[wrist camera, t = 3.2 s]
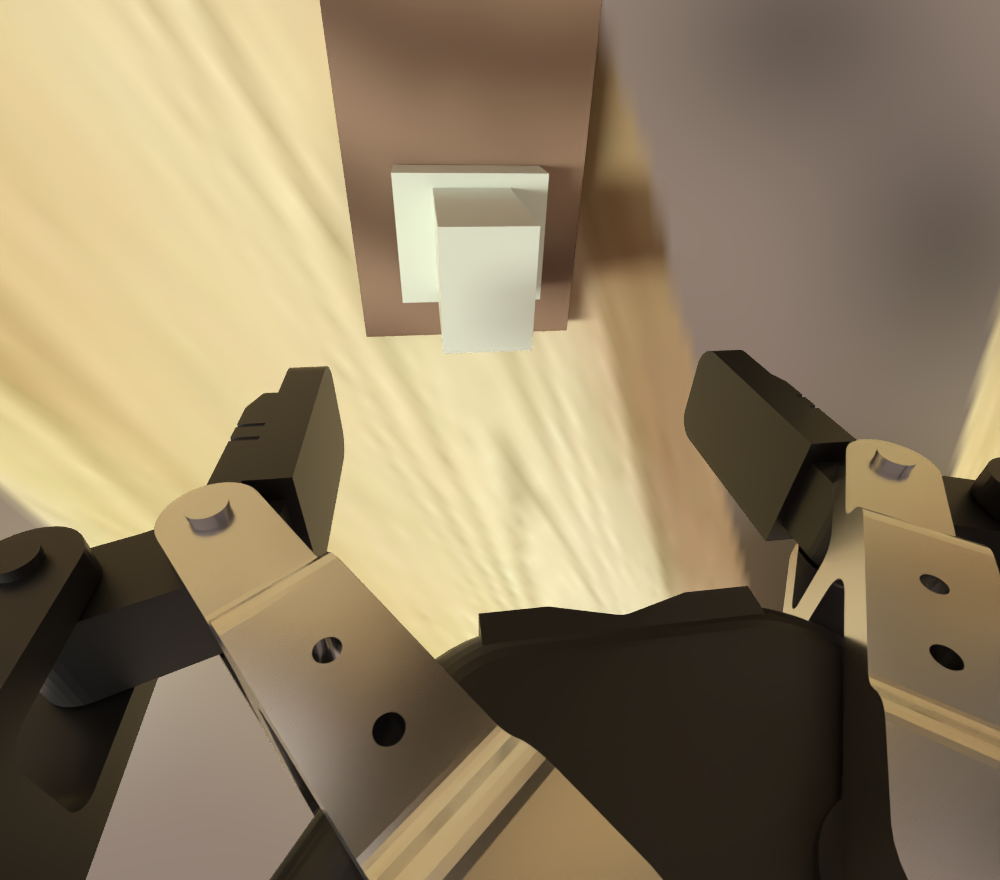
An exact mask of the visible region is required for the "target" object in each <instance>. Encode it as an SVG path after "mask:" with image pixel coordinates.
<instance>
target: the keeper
mask: <svg viewBox="0 0 1000 880" xmlns="http://www.w3.org/2000/svg"><path fill="white" fill-rule="evenodd" d="M391 179H392V190H393V201H394V212H395V223H396V233H397V244H398V255H399V266H400V277H401V288H402V299H403V303H418V302H438V303H439V313H440V324H441V334H442V345H443V354H451V353H478V352H505V351H531V350H532V342H533V327H534V313H535V300H538V299H540V291H541V278H542V264H543V250H544V236H545V222H546V209H547V195H548V181H549V173H548V172H546V171H545V170H544V169H543V168H541V167H540V166H513V165H393V167H392V171H391Z"/></svg>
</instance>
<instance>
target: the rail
mask: <svg viewBox="0 0 1000 880" xmlns="http://www.w3.org/2000/svg"><path fill="white" fill-rule="evenodd" d="M320 6H321V13H322V20H323V27H324V35H325V42H326V49H327V56H328V63H329V70H330V77H331V85H332V92H333V99H334V106H335V113H336V120H337V128H338V135H339V142H340V149H341V156H342V163H343V170H344V178H345V185H346V192H347V199H348V206H349V213H350V220H351V228H352V235H353V242H354V249H355V256H356V263H357V271H358V278H359V285H360V292H361V299H362V306H363V313H364V321H365V328H366V335H367V337H376V336H407V335H437V334H441V324H440V313H439V303H438V302H418V303H403V299H402V288H401V277H400V266H399V255H398V244H397V233H396V223H395V212H394V201H393V190H392V179H391V171H392V167H393V165H513V166H540V167H541V168H543V169H544V170H545V171H546V172H548V173H549V181H548V195H547V209H546V222H545V236H544V250H543V264H542V278H541V291H540V299H538V300H535V313H534V327H533V331H560V330H567V321H568V311H569V302H570V293H571V284H572V274H573V265H574V256H575V247H576V237H577V228H578V219H579V210H580V200H581V191H582V182H583V173H584V163H585V154H586V145H587V136H588V126H589V117H590V108H591V99H592V89H593V80H594V71H595V62H596V52H597V43H598V34H599V25H600V15H601V6H602V0H320Z"/></svg>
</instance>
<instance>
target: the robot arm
mask: <svg viewBox="0 0 1000 880" xmlns="http://www.w3.org/2000/svg"><path fill="white" fill-rule="evenodd" d="M237 425H238V427H236V428H235V430H234V432H233V434H232V436H231V441H229V442H228V444H227V446H226V448H225V450H224V452H223V454H222V456H221V458H220V460H219V462H218V464H217V466H216V468H215V470H214V472H213V474H212V476H211V477H210V479H209V481H208V483H207V485H206V486H203V487H200V488H197V489H195V490H192V491H190V492H188V493H186V494H184V495H182V496H181V497H179V498H177V499H176V500H174V501H173V502H172V503H170V504H169V505H168V506H167V507H166V508H165V509H164V510H163V511H162V513H161V514H160V515H159V517H158V519H157V521H156V523H155V527H154V530H151V531H148V532H145V533H142V534H139V535H135V536H132V537H128V538H125V539H121V540H117V541H114V542H110V543H107V544H103V545H100V546H96V547H93V548H90V547H89V545H88V544H87V542H86V541H85V539H84V538H83V536H82V535H81V534H80V533H79V532H78V531H76V530H74V529H72V528H67V527H58V526H54V527H43V528H37V529H33V530H29V531H25V532H22V533H19V534H16V535H13V536H11V537H8V538H6V539H3V540H1V541H0V880H86V877H87V874H88V872H89V869H90V866H91V863H92V860H93V858H94V855H95V852H96V849H97V846H98V843H99V841H100V838H101V835H102V833H103V830H104V827H105V824H106V821H107V818H108V816H109V813H110V810H111V807H112V804H113V802H114V799H115V796H116V793H117V791H118V788H119V785H120V782H121V779H122V777H123V774H124V771H125V768H126V766H127V763H128V760H129V757H130V754H131V751H132V749H133V746H134V743H135V740H136V737H137V735H138V732H139V729H140V726H141V723H142V721H143V717H144V715H145V712H146V710H147V707H148V704H149V701H150V698H151V696H152V693H153V690H154V687H155V684H156V682H157V679H158V678H159V677H161V676H164V675H166V674H169V673H172V672H174V671H177V670H180V669H182V668H185V667H187V666H190V665H193V664H195V663H198V662H200V661H203V660H206V659H208V658H211V657H214V656H216V655H219V657H220V658H221V660H222V662H223V663H224V665H225V667H226V668H227V670H228V672H229V673H230V675H231V677H232V678H233V680H234V682H235V683H236V685H237V687H238V689H239V690H240V692H241V694H242V695H243V697H244V699H245V700H246V702H247V704H248V706H249V707H250V709H251V710H252V712H253V714H254V716H255V717H256V719H257V721H258V722H259V724H260V726H261V727H262V729H263V731H264V733H265V734H266V736H267V737H268V739H269V741H270V743H271V745H272V746H273V748H274V750H275V752H276V753H277V755H278V757H279V759H280V761H281V762H282V764H283V766H284V768H285V770H286V771H287V773H288V775H289V777H290V778H291V780H292V782H293V784H294V785H295V787H296V788H297V790H298V792H299V794H300V795H301V797H302V799H303V801H304V802H305V804H306V806H307V807H308V809H309V811H310V812H311V814H312V816H313V817H314V818H313V819H312V821H311V822H310V823H309V825H308V826H307V828H306V829H305V830H304V832H303V833H302V835H301V836H300V838H299V839H298V841H297V842H296V843H295V845H294V846H293V848H292V849H291V850H290V852H289V853H288V855H287V856H286V857H285V859H284V860H283V862H282V863H281V864H280V866H279V867H278V869H277V870H276V872H275V873H274V874H273V876H272V877H271V879H270V880H1000V457H999V458H995V459H992V460H991V461H990V462H989V463H988V464H987V466H986V467H985V468H984V470H983V471H982V472H981V474H980V475H979V476H978V478H977V479H976V480H970V479H962V478H955V477H947V476H941V473H940V471H939V470H938V469H937V467H936V466H935V465H934V464H933V463H931V462H930V461H929V460H928V459H926V458H925V457H923V456H922V455H920V454H918V453H916V452H914V451H912V450H910V449H908V448H905V447H903V446H900V445H897V444H893V443H890V442H885V441H881V440H873V439H862V440H856V439H855V438H853V437H852V436H851V435H850V434H849V433H848V432H846V431H845V430H844V429H843V428H842V427H841V426H839V425H838V424H837V423H836V422H834V421H833V420H832V419H831V418H830V417H828V416H827V415H826V414H825V413H824V412H822V411H821V410H820V409H819V408H815V405H814V404H813V403H812V402H810V401H809V400H808V399H807V398H806V397H802V394H800V392H798V391H797V390H796V389H795V388H794V387H792V386H791V385H790V384H789V383H787V382H786V381H784V380H782V379H780V378H778V377H776V376H774V375H772V374H770V373H769V372H768V371H767V370H766V369H765V368H763V367H762V366H761V365H760V364H759V363H757V362H756V361H755V360H754V359H753V358H751V357H750V356H749V355H748V354H747V353H746V352H744V351H742V350H725V351H707V352H705V353H704V354H703V355H702V356H701V358H700V360H699V363H698V366H697V370H696V373H695V377H694V381H693V384H692V388H691V391H690V395H689V399H688V402H687V406H686V409H685V414H684V426H685V431H686V434H687V436H688V438H689V440H690V441H691V442H692V444H693V445H694V446H695V448H696V449H697V450H698V452H699V453H700V454H701V456H702V457H703V458H704V460H705V461H706V462H707V464H708V465H709V466H710V468H711V469H712V470H713V472H714V473H715V474H716V476H717V477H718V478H719V480H720V481H721V482H722V484H723V485H724V486H725V488H726V489H727V490H728V492H729V493H730V494H731V496H732V497H733V498H734V500H735V501H736V502H737V503H738V505H739V506H740V508H741V509H742V510H743V512H744V513H745V514H746V516H747V517H748V518H749V520H750V521H751V522H752V524H753V525H754V526H755V528H756V529H757V530H758V531H759V533H760V534H761V535H762V537H763V538H764V539H765V541H773V540H784V539H794V540H795V541H796V542H797V543H796V546H795V547H794V549H793V551H792V553H791V556H790V562H789V570H788V577H787V585H786V593H785V601H784V609H783V612H780V611H775V610H771V609H766V608H762V607H761V606H760V604H759V603H758V602H757V600H756V598H755V597H754V595H753V593H752V592H751V590H750V589H749V587H748V586H743V587H733V588H723V589H714V590H704V591H694V592H685V593H682V594H680V595H677V596H674V597H672V598H669V599H666V600H664V601H661V602H659V603H656V604H653V605H651V606H648V607H646V608H643V609H640V610H638V611H635V612H632V613H630V614H626V615H614V614H606V613H597V612H589V611H581V610H572V609H564V608H556V607H539V608H530V609H520V610H510V611H501V612H491V613H481V614H479V636H478V637H475V638H473V639H470V640H468V641H465V642H463V643H462V644H460V645H458V646H456V647H454V648H452V649H450V650H448V651H447V652H445V653H444V654H442V655H441V656H439V657H438V658H436V659H434V658H433V657H432V656H431V655H430V654H429V652H428V651H427V650H426V649H425V648H424V647H423V646H422V645H421V644H420V643H419V642H418V641H417V640H416V639H415V638H414V637H413V636H412V635H411V634H410V632H409V631H408V630H407V629H406V628H405V627H404V626H403V625H402V624H401V623H400V622H399V621H398V620H397V619H396V618H395V617H394V616H393V615H392V613H391V612H390V611H389V610H388V609H387V608H386V607H385V606H384V605H383V604H382V603H381V602H380V601H379V600H378V599H377V598H376V597H375V596H374V595H373V593H372V592H371V591H370V590H369V589H368V588H367V587H366V586H365V585H364V584H363V583H362V582H361V581H360V580H359V579H358V578H357V577H356V576H355V575H354V573H353V572H352V571H351V570H350V569H349V568H348V567H347V566H346V565H345V564H344V563H343V562H342V561H341V560H340V559H339V558H338V557H337V556H336V555H334V554H333V553H331V552H327V547H328V541H329V536H330V531H331V525H332V520H333V514H334V509H335V503H336V498H337V492H338V487H339V481H340V476H341V470H342V465H343V459H344V438H343V430H342V425H341V420H340V414H339V409H338V404H337V399H336V394H335V388H334V383H333V378H332V374H331V371H330V369H329V367H328V366H324V367H300V368H289V369H288V371H287V373H286V376H285V378H284V380H283V383H282V385H281V387H280V390H279V392H278V393H264V394H262V395H261V396H260V397H259V398H257V399H256V400H255V401H254V402H252V403H251V404H250V405H249V406H247V407H246V408H245V410H244V412H243V414H242V416H241V418H240V420H239V422H238V424H237Z"/></svg>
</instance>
